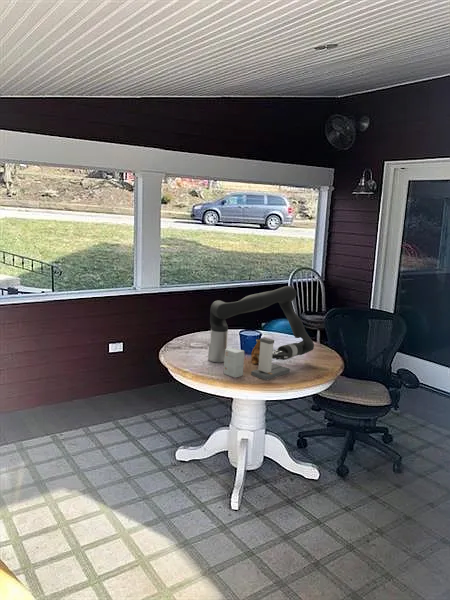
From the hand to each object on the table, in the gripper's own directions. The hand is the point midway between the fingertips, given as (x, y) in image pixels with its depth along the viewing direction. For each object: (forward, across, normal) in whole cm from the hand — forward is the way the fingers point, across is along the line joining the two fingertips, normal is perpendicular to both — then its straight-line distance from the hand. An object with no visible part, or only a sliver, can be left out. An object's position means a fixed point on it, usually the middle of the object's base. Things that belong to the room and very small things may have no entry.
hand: (267, 357), depth 253 cm
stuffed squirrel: (-15, -18, +10) cm, 25 cm away
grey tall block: (+2, 0, +7) cm, 7 cm away
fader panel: (-4, 0, +10) cm, 10 cm away
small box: (+13, -11, +10) cm, 20 cm away
